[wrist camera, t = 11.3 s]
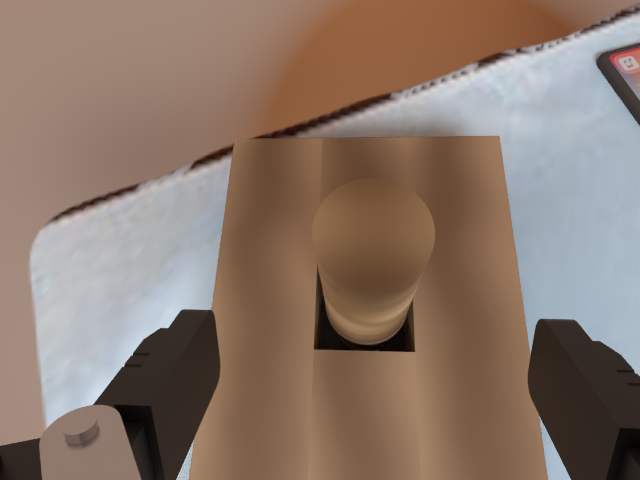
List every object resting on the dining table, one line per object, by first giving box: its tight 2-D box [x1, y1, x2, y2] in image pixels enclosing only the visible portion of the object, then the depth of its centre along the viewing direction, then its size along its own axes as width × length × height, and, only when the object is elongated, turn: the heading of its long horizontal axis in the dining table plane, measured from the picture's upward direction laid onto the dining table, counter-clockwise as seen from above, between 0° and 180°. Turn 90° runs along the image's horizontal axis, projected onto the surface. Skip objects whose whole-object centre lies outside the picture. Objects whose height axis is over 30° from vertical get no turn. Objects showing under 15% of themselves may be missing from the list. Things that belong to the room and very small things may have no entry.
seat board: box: [189, 136, 548, 480], centre depth 22 cm, size 14×22×4 cm, turn 178°
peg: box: [312, 178, 435, 351], centre depth 19 cm, size 4×4×12 cm
